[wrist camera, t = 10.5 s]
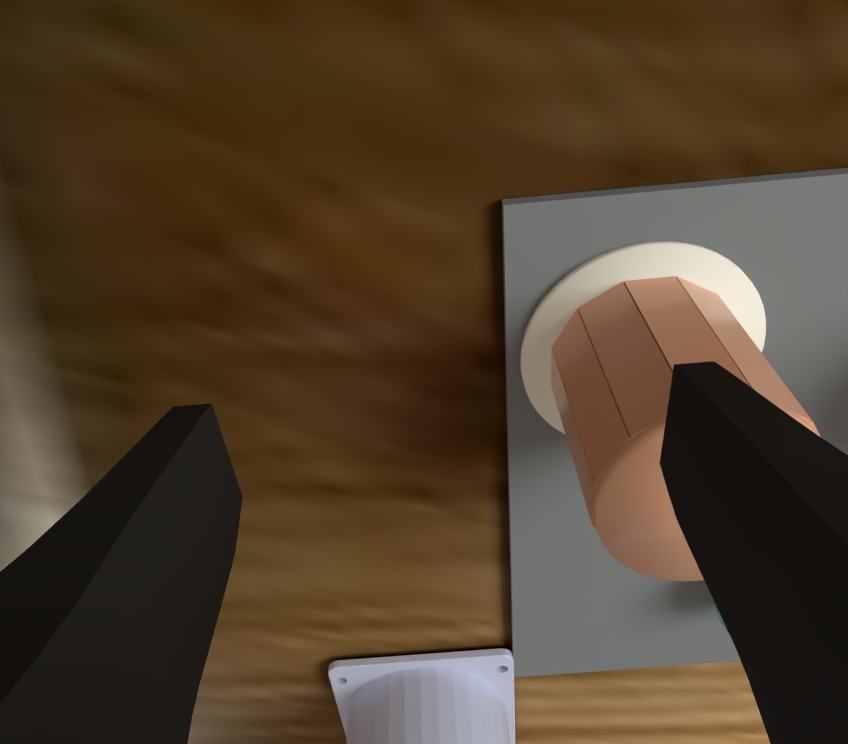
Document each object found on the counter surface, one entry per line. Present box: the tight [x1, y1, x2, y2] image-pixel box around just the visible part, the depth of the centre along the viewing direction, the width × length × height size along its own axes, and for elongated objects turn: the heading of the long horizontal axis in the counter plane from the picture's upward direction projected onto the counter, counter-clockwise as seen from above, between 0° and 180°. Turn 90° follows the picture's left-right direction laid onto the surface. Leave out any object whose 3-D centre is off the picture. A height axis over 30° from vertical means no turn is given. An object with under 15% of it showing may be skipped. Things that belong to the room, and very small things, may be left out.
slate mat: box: [502, 168, 848, 677], centre depth 25 cm, size 22×20×1 cm
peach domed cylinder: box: [551, 276, 821, 581], centre depth 19 cm, size 5×5×6 cm
